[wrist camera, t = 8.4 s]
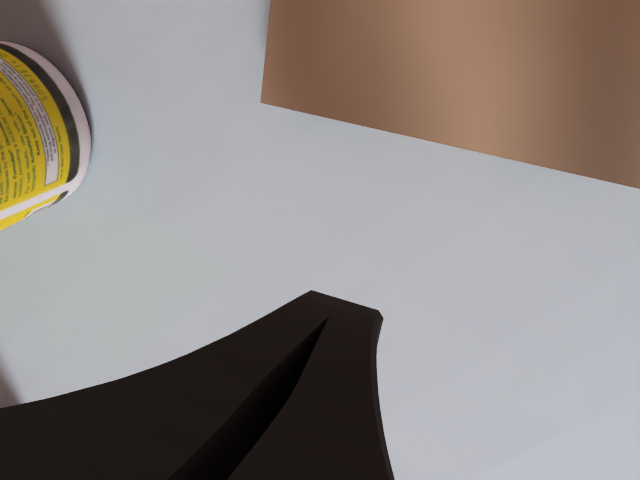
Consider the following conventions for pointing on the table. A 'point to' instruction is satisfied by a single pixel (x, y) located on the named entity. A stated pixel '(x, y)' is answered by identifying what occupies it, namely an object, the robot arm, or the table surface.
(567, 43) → the stool seat
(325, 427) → the robot arm
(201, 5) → the table surface
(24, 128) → the pill bottle
